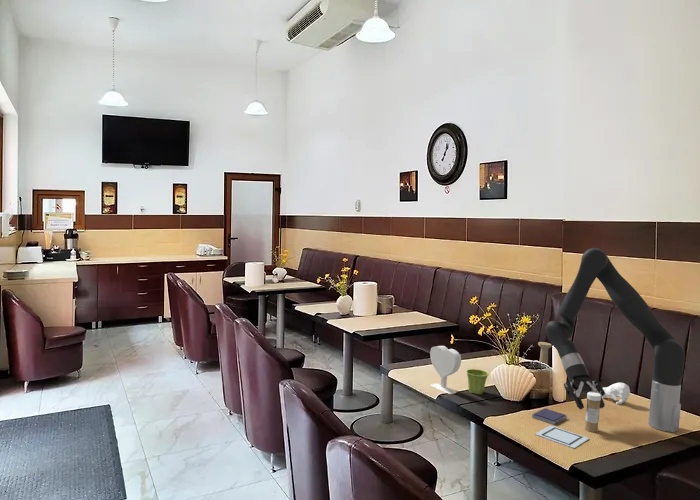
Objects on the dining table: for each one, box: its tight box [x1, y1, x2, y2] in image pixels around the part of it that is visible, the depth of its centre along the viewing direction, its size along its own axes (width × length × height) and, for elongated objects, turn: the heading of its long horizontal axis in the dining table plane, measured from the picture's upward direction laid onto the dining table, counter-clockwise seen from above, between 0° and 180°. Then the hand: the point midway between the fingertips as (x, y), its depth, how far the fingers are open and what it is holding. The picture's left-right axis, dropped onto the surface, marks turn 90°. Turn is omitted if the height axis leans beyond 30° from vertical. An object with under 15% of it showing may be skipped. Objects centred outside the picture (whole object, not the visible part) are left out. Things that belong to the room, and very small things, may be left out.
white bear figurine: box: [600, 382, 631, 405], centre depth 224 cm, size 6×8×12 cm
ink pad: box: [531, 407, 568, 426], centre depth 202 cm, size 9×10×2 cm
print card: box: [534, 424, 590, 450], centre depth 185 cm, size 14×12×1 cm
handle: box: [537, 341, 553, 365], centre depth 258 cm, size 5×6×15 cm
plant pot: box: [465, 368, 489, 395], centre depth 228 cm, size 9×9×9 cm
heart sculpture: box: [429, 345, 462, 395], centre depth 230 cm, size 16×5×18 cm, turn 34°
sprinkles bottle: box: [584, 392, 601, 433], centre depth 192 cm, size 5×5×14 cm
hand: (592, 408), depth 193 cm, fingers open, 8 cm apart
